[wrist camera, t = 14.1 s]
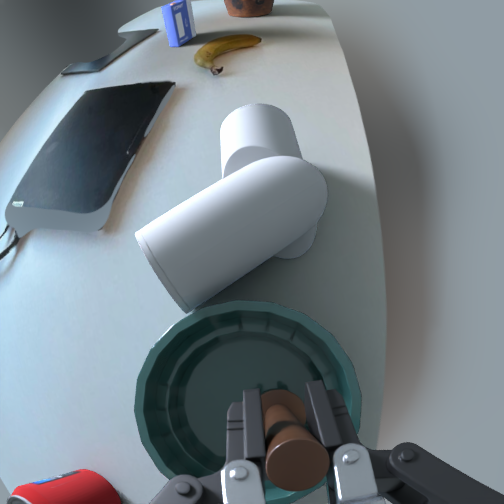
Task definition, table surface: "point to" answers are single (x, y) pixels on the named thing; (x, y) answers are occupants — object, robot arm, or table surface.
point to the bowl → (231, 381)
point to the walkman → (179, 22)
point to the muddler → (291, 443)
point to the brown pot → (248, 7)
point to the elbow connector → (239, 210)
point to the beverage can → (67, 490)
